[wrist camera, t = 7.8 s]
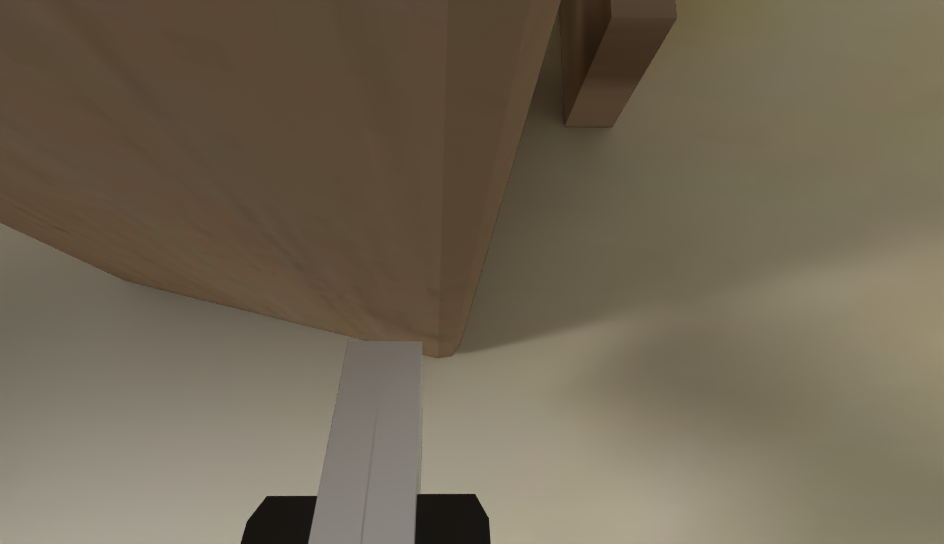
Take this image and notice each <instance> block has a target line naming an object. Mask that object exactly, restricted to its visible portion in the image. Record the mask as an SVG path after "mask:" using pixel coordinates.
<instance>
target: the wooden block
mask: <svg viewBox="0 0 944 544" xmlns="http://www.w3.org/2000/svg"><path fill="white" fill-rule="evenodd" d="M560 2H561V0H0V223H2V224H5V225H7V226H9V227H11V228H13V229H15V230H17V231H20V232H22V233H24V234H26V235H28V236H30V237H33V238H35V239H37V240H39V241H41V242H43V243H45V244H48V245H50V246H52V247H54V248H56V249H58V250H60V251H63V252H65V253H67V254H69V255H71V256H73V257H75V258H78V259H80V260H82V261H84V262H86V263H88V264H91V265H93V266H95V267H97V268H99V269H101V270H103V271H106V272H108V273H110V274H112V275H114V276H116V277H118V278H121V279H123V280H125V281H128V282H133V283H137V284H141V285H145V286H149V287H153V288H157V289H161V290H165V291H169V292H173V293H177V294H181V295H185V296H189V297H193V298H197V299H201V300H205V301H209V302H213V303H217V304H221V305H225V306H229V307H233V308H237V309H242V310H246V311H250V312H254V313H258V314H262V315H266V316H270V317H274V318H278V319H282V320H286V321H290V322H294V323H298V324H302V325H306V326H310V327H314V328H318V329H322V330H326V331H330V332H334V333H338V334H342V335H346V336H350V337H355V338H359V339H363V340H367V341H422V354H423V355H427V356H431V357H435V358H442V357H449V356H452V355H453V353H454V352H455V351H456V349H457V348H458V347H459V345H460V342H461V339H462V335H463V332H464V329H465V325H466V322H467V318H468V315H469V312H470V308H471V305H472V301H473V298H474V294H475V291H476V288H477V284H478V281H479V277H480V274H481V271H482V267H483V264H484V260H485V257H486V254H487V250H488V247H489V243H490V240H491V237H492V233H493V230H494V226H495V223H496V220H497V216H498V213H499V209H500V206H501V203H502V199H503V196H504V192H505V189H506V186H507V182H508V179H509V175H510V172H511V169H512V165H513V162H514V158H515V155H516V151H517V148H518V145H519V141H520V138H521V134H522V131H523V128H524V124H525V121H526V117H527V114H528V111H529V107H530V104H531V100H532V97H533V94H534V90H535V87H536V83H537V80H538V77H539V73H540V70H541V66H542V63H543V60H544V56H545V53H546V49H547V46H548V43H549V39H550V36H551V32H552V29H553V25H554V22H555V19H556V15H557V12H558V8H559V5H560Z"/></svg>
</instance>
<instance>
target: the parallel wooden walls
mask: <svg viewBox="0 0 944 544" xmlns="http://www.w3.org/2000/svg"><path fill="white" fill-rule="evenodd" d="M559 12H560V35H561V57H562V80H563V103H564V125H565V127H613V125H614V123H615V122H616V120H617V118H618V116H619V115H620V113H621V111H622V110H623V108H624V106H625V105H626V103H627V101H628V100H629V98H630V96H631V95H632V93H633V91H634V89H635V88H636V86H637V84H638V83H639V81H640V79H641V78H642V76H643V74H644V73H645V71H646V69H647V68H648V66H649V64H650V62H651V61H652V59H653V57H654V56H655V54H656V52H657V51H658V49H659V47H660V46H661V44H662V42H663V40H664V39H665V37H666V35H667V34H668V32H669V30H670V29H671V27H672V25H673V24H674V22H675V20H676V19H677V17H676V5H675V0H561V2H560V5H559Z"/></svg>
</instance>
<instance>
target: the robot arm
mask: <svg viewBox="0 0 944 544" xmlns="http://www.w3.org/2000/svg"><path fill="white" fill-rule="evenodd" d="M421 458H422V341H348V343H347V349H346V354H345V359H344V364H343V369H342V374H341V379H340V384H339V389H338V394H337V399H336V405H335V410H334V415H333V420H332V425H331V430H330V435H329V440H328V445H327V450H326V456H325V461H324V466H323V471H322V476H321V481H320V486H319V491H318V496H267V497H266V498H265V499H264V501H263V502H262V503H261V504H260V506H259V507H258V508H257V509H256V511H255V512H254V513H253V515H252V516H251V517H250V518H249V520H248V521H247V524H246V527H245V530H244V534H243V537H242V541H241V544H491V543H490V529H489V518H488V516H487V515H486V513H485V511H484V509H483V507H482V506H481V504H480V502H479V500H478V498H477V497H476V495H475V494H420V486H421Z"/></svg>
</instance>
